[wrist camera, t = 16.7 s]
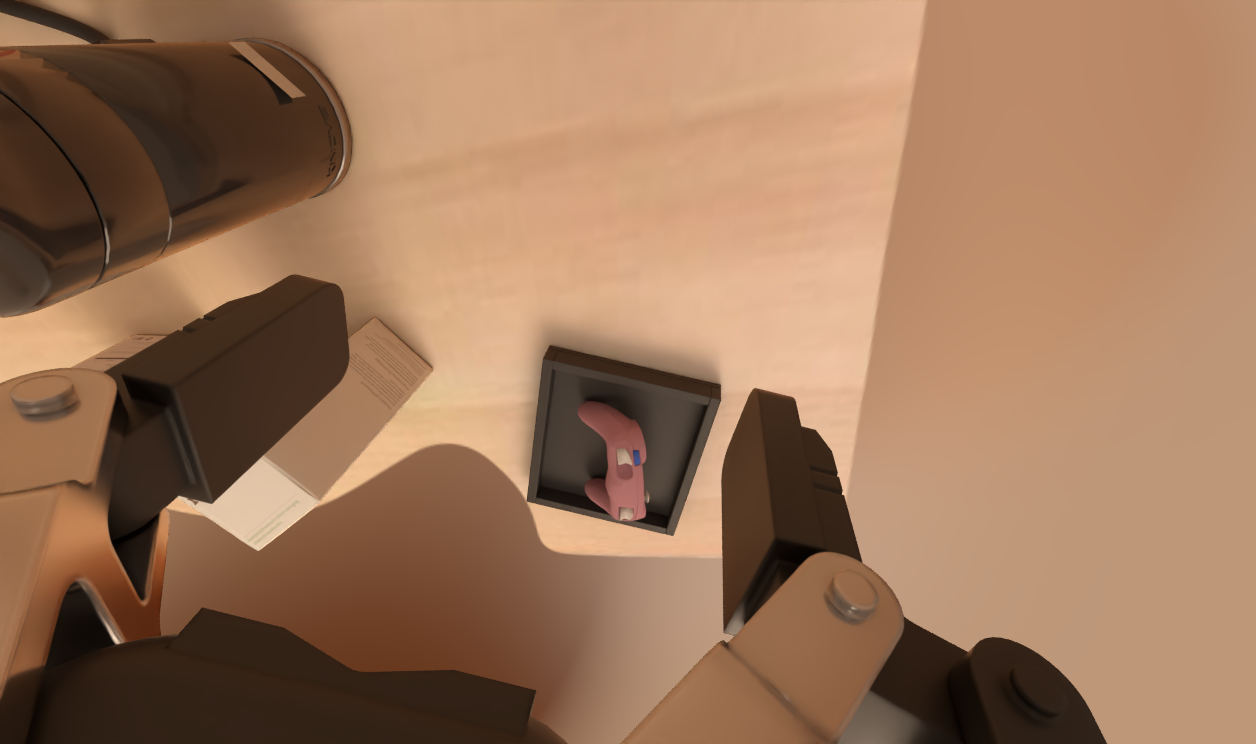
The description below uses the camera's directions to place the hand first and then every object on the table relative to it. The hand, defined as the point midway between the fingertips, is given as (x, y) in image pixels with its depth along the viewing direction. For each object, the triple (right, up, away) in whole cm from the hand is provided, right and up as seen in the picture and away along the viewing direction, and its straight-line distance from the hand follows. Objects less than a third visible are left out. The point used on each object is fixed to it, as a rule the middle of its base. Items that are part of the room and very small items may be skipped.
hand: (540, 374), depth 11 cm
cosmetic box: (-19, +1, +35) cm, 40 cm away
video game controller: (+1, -6, +35) cm, 36 cm away
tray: (+1, -6, +36) cm, 36 cm away
